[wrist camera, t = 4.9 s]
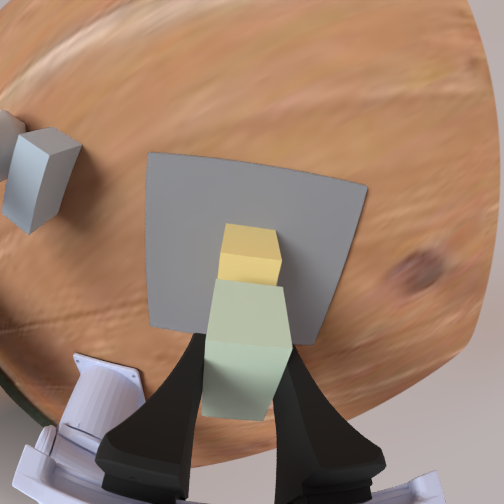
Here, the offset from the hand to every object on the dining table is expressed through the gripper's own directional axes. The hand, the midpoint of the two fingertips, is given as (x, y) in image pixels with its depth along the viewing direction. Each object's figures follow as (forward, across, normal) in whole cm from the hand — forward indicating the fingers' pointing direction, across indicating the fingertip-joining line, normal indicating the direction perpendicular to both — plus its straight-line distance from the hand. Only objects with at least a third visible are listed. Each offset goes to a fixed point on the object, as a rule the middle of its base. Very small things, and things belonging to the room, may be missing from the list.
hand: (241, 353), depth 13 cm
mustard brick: (+8, 0, 0) cm, 8 cm away
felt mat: (+8, 0, 0) cm, 8 cm away
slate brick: (+8, +15, -5) cm, 18 cm away
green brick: (+2, 0, 0) cm, 2 cm away
